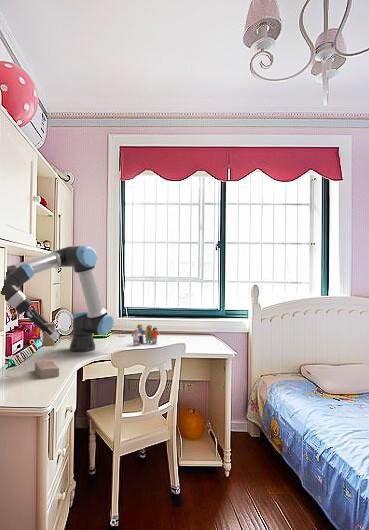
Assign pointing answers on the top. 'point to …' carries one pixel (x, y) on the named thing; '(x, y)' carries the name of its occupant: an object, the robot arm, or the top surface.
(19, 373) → the top surface
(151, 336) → the doll family
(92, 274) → the robot arm
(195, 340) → the top surface
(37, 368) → the brick
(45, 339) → the walnut block
